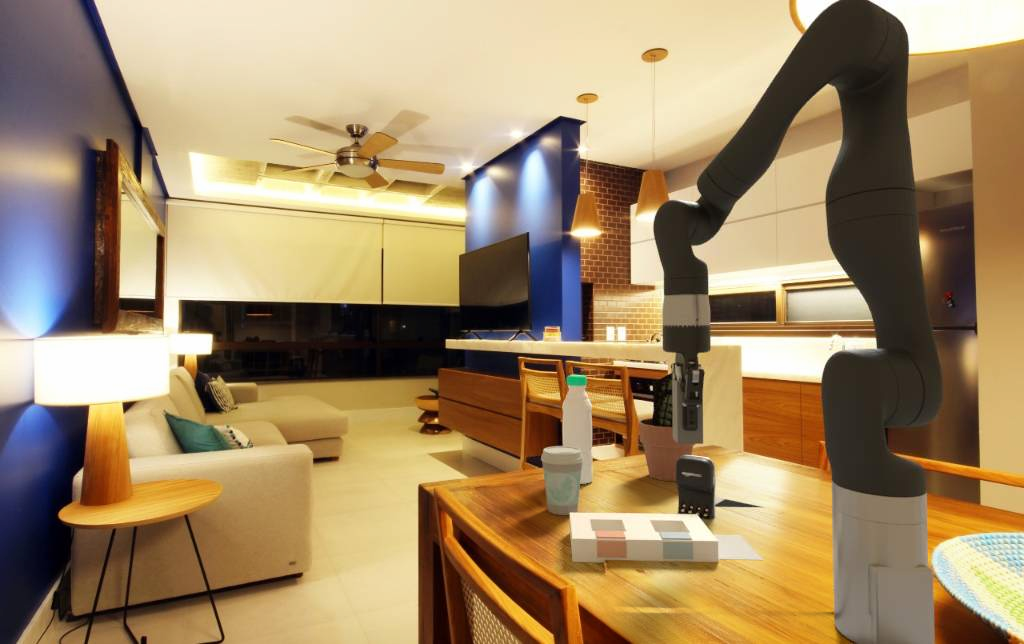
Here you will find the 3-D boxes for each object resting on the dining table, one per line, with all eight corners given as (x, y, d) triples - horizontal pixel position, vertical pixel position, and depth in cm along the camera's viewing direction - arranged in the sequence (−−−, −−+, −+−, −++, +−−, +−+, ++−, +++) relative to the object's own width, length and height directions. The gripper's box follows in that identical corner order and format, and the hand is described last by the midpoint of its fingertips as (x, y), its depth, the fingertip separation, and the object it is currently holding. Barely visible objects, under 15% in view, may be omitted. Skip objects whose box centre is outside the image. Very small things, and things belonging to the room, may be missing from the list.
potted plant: (628, 471, 136) (627, 372, 137) (675, 467, 140) (674, 370, 141) (659, 486, 123) (657, 376, 124) (709, 481, 127) (708, 374, 128)
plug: (703, 443, 87) (702, 377, 87) (677, 443, 87) (677, 377, 87) (697, 438, 91) (696, 375, 91) (672, 438, 91) (672, 375, 91)
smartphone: (716, 500, 114) (716, 496, 114) (796, 518, 103) (795, 513, 103) (701, 509, 109) (701, 504, 109) (783, 528, 98) (783, 523, 98)
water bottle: (557, 479, 130) (556, 375, 130) (582, 475, 133) (581, 373, 133) (572, 486, 124) (571, 377, 124) (598, 483, 127) (597, 375, 127)
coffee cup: (534, 513, 106) (533, 452, 106) (551, 501, 113) (551, 443, 114) (575, 520, 102) (574, 456, 102) (590, 507, 109) (589, 447, 110)
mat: (763, 563, 83) (763, 559, 83) (709, 562, 83) (709, 558, 83) (740, 538, 93) (740, 535, 93) (692, 537, 93) (692, 534, 93)
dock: (719, 565, 82) (718, 540, 82) (572, 562, 83) (572, 537, 84) (697, 535, 94) (696, 513, 94) (569, 532, 96) (569, 511, 96)
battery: (673, 516, 103) (672, 456, 104) (680, 511, 106) (679, 452, 107) (711, 524, 99) (710, 461, 99) (717, 518, 102) (716, 457, 103)
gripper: (721, 323, 82) (722, 437, 82) (699, 322, 96) (699, 420, 96) (671, 323, 82) (671, 436, 82) (655, 323, 97) (656, 419, 97)
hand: (686, 427), depth 89 cm, fingers closed on plug, 4 cm apart
